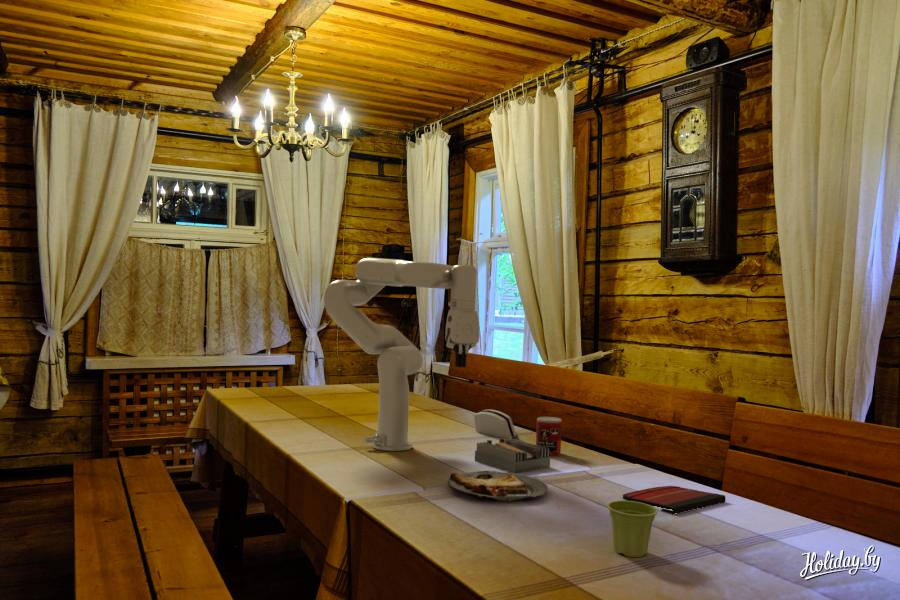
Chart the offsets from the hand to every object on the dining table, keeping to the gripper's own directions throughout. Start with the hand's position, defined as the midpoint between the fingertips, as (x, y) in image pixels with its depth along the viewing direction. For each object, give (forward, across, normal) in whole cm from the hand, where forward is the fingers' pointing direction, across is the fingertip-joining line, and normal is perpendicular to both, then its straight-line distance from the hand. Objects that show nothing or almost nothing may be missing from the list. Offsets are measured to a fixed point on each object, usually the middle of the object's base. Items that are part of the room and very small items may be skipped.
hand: (460, 366), depth 212 cm
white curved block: (+28, +33, +20) cm, 47 cm away
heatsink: (+27, +8, -16) cm, 32 cm away
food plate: (+28, -15, -34) cm, 46 cm away
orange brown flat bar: (+23, +8, -16) cm, 29 cm away
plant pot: (+27, -22, -80) cm, 87 cm away
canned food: (+27, +28, -11) cm, 41 cm away
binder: (+28, +17, -63) cm, 71 cm away
